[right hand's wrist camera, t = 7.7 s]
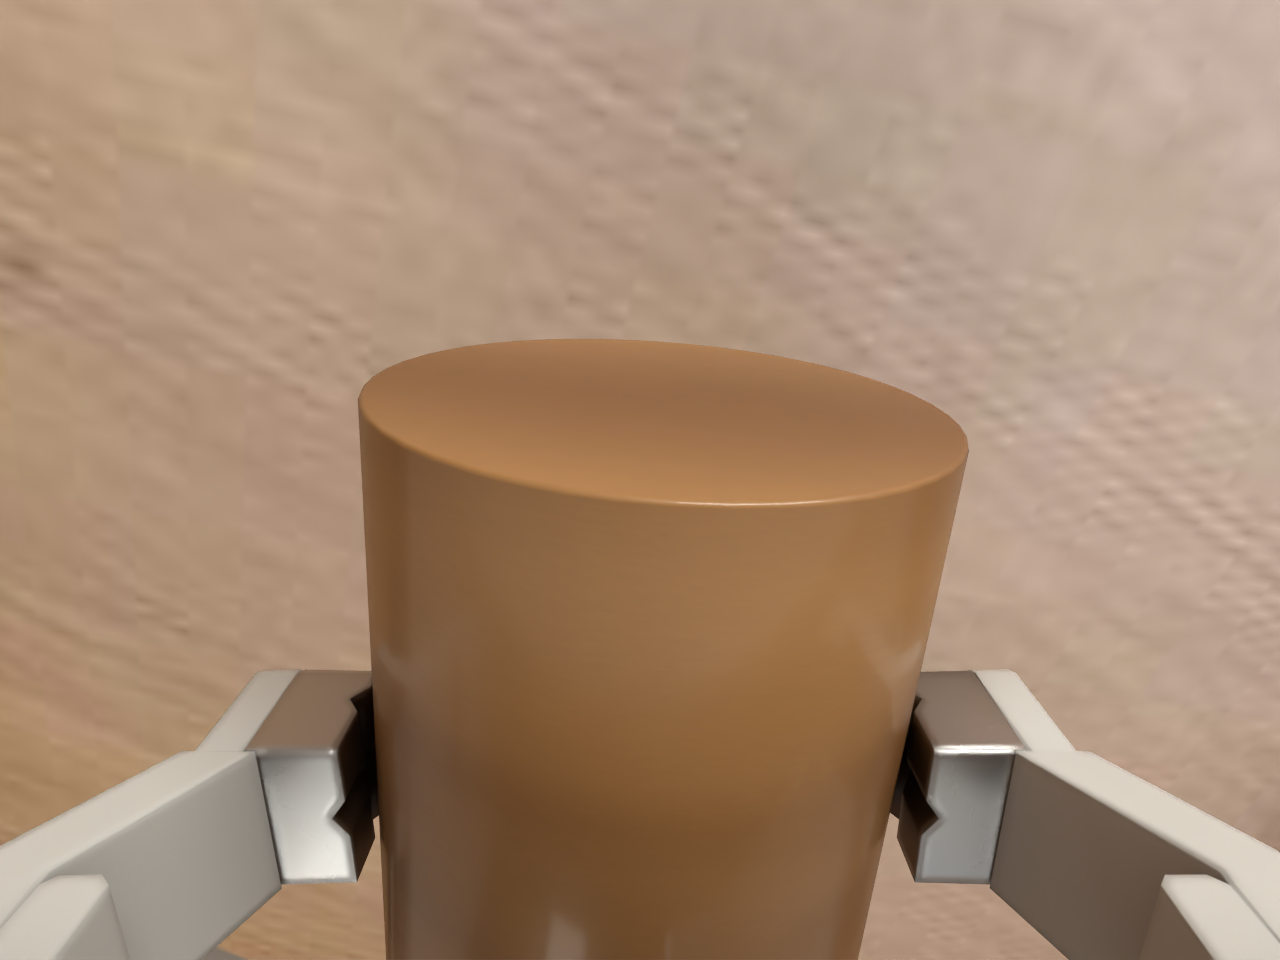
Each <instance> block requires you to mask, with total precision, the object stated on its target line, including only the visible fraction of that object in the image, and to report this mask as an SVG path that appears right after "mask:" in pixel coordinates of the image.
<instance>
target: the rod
mask: <svg viewBox="0 0 1280 960" xmlns="http://www.w3.org/2000/svg"><path fill="white" fill-rule="evenodd" d="M358 411H359V430H360V450H361V470H362V490H363V509H364V529H365V549H366V568H367V588H368V608H369V627H370V647H371V667H372V686H373V706H374V726H375V745H376V765H377V785H378V804H379V824H380V844H381V863H382V883H383V903H384V922H385V942H386V960H858V956H859V951H860V947H861V942H862V938H863V933H864V929H865V924H866V919H867V915H868V910H869V906H870V901H871V896H872V892H873V887H874V883H875V878H876V874H877V869H878V864H879V860H880V855H881V851H882V846H883V842H884V837H885V832H886V828H887V823H888V819H889V814H890V810H891V805H892V800H893V796H894V791H895V787H896V782H897V777H898V773H899V768H900V764H901V759H902V755H903V750H904V745H905V741H906V736H907V732H908V727H909V723H910V718H911V713H912V709H913V704H914V700H915V695H916V691H917V686H918V681H919V677H920V672H921V668H922V663H923V658H924V654H925V649H926V645H927V640H928V636H929V631H930V626H931V622H932V617H933V613H934V608H935V604H936V599H937V594H938V590H939V585H940V581H941V576H942V572H943V567H944V562H945V558H946V553H947V549H948V544H949V539H950V535H951V530H952V526H953V521H954V517H955V512H956V507H957V503H958V498H959V494H960V489H961V485H962V480H963V475H964V471H965V466H966V462H967V457H968V453H969V449H968V442H967V437H966V435H965V433H964V432H963V430H962V429H961V427H960V425H959V424H957V423H956V422H955V421H954V420H953V419H952V418H951V417H950V416H949V415H947V414H946V413H944V412H943V411H941V410H940V409H938V408H937V407H935V406H934V405H932V404H930V403H928V402H926V401H924V400H922V399H920V398H918V397H916V396H914V395H912V394H910V393H907V392H905V391H902V390H900V389H898V388H895V387H893V386H890V385H887V384H884V383H881V382H878V381H875V380H873V379H870V378H866V377H863V376H859V375H856V374H853V373H849V372H846V371H842V370H838V369H834V368H830V367H826V366H822V365H817V364H813V363H808V362H804V361H799V360H794V359H789V358H783V357H778V356H772V355H767V354H760V353H754V352H748V351H741V350H734V349H726V348H718V347H710V346H700V345H691V344H680V343H668V342H655V341H637V340H612V339H548V340H527V341H512V342H500V343H490V344H482V345H474V346H467V347H461V348H455V349H449V350H444V351H440V352H435V353H431V354H426V355H423V356H420V357H416V358H413V359H410V360H406V361H403V362H401V363H399V364H396V365H394V366H391V367H389V368H387V369H385V370H383V371H382V372H380V373H378V374H377V375H375V376H373V377H372V378H371V379H370V380H369V381H368V382H367V383H366V384H365V385H364V387H363V389H362V391H361V393H360V395H359V398H358Z"/></svg>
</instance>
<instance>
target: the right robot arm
mask: <svg viewBox="0 0 1280 960" xmlns="http://www.w3.org/2000/svg"><path fill="white" fill-rule="evenodd" d="M890 813H891V814H893V815H894V816H895V817H897V818H898V819H899V825H898V833H897V839H898V841H899V844H900V846H901V849H902V851H903V854H904V856H905V859H906V861H907V864H908V866H909V869H910V871H911V874H912V876H913V879H914V881H915V882H925V883H960V884H990V889H992V890H993V891H994V892H995V893H996V894H997V895H998V896H999V897H1000V898H1002V899H1003V900H1004V901H1005V902H1006V903H1007V904H1008V905H1009V906H1010V907H1011V908H1013V909H1014V910H1015V911H1016V912H1017V913H1018V914H1019V915H1020V916H1021V917H1022V918H1024V919H1025V920H1026V921H1027V922H1028V923H1029V924H1030V925H1031V926H1032V927H1034V928H1035V929H1036V930H1037V931H1038V932H1039V933H1040V934H1041V935H1042V936H1043V937H1045V938H1046V939H1047V940H1048V941H1049V942H1050V943H1051V944H1052V945H1053V946H1054V947H1056V948H1057V949H1058V950H1059V951H1060V952H1061V953H1062V954H1063V955H1064V956H1066V957H1067V958H1068V959H1069V960H1280V852H1279V851H1277V850H1275V849H1274V848H1272V847H1270V846H1268V845H1266V844H1264V843H1262V842H1260V841H1258V840H1256V839H1255V838H1253V837H1251V836H1249V835H1247V834H1245V833H1243V832H1241V831H1239V830H1238V829H1236V828H1234V827H1232V826H1230V825H1228V824H1226V823H1224V822H1222V821H1220V820H1219V819H1217V818H1215V817H1213V816H1211V815H1209V814H1207V813H1205V812H1203V811H1202V810H1200V809H1198V808H1196V807H1194V806H1192V805H1190V804H1188V803H1186V802H1184V801H1183V800H1181V799H1179V798H1177V797H1175V796H1173V795H1171V794H1169V793H1167V792H1166V791H1164V790H1162V789H1160V788H1158V787H1156V786H1154V785H1152V784H1150V783H1149V782H1147V781H1145V780H1143V779H1141V778H1139V777H1137V776H1135V775H1133V774H1131V773H1130V772H1128V771H1126V770H1124V769H1122V768H1120V767H1118V766H1116V765H1114V764H1113V763H1111V762H1109V761H1107V760H1105V759H1103V758H1101V757H1099V756H1097V755H1095V754H1094V753H1092V752H1090V751H1076V750H1075V749H1074V747H1073V746H1072V745H1071V743H1070V742H1069V741H1068V740H1067V738H1066V737H1065V736H1064V734H1063V733H1062V732H1061V731H1060V729H1059V728H1058V727H1057V725H1056V724H1055V723H1054V722H1053V720H1052V719H1051V718H1050V716H1049V715H1048V714H1047V713H1046V711H1045V710H1044V709H1043V707H1042V706H1041V705H1040V704H1039V702H1038V701H1037V700H1036V698H1035V697H1034V696H1033V695H1032V693H1031V692H1030V691H1029V689H1028V688H1027V687H1026V685H1025V684H1024V683H1023V682H1022V680H1021V679H1020V678H1019V676H1018V675H1017V674H1016V673H1015V672H1013V671H1011V670H1009V669H993V670H968V671H940V672H920V677H919V681H918V686H917V691H916V695H915V700H914V704H913V709H912V713H911V718H910V723H909V727H908V732H907V736H906V741H905V745H904V750H903V755H902V759H901V764H900V768H899V773H898V777H897V782H896V787H895V791H894V796H893V800H892V805H891V810H890ZM378 815H379V804H378V785H377V765H376V745H375V726H374V706H373V686H372V671H340V670H304V671H303V670H300V669H290V670H263V671H260V672H257V673H256V674H255V675H254V676H253V677H252V679H251V680H250V681H249V683H248V684H247V685H246V686H245V688H244V689H243V690H242V691H241V693H240V694H239V695H238V697H237V698H236V699H235V700H234V702H233V703H232V704H231V705H230V707H229V708H228V709H227V710H226V712H225V713H224V714H223V716H222V717H221V718H220V719H219V721H218V722H217V723H216V724H215V726H214V727H213V728H212V730H211V731H210V732H209V733H208V735H207V736H206V737H205V738H204V740H203V741H202V742H201V743H200V745H199V746H198V747H197V749H196V750H195V751H181V752H179V753H177V754H175V755H173V756H172V757H170V758H168V759H166V760H164V761H162V762H160V763H158V764H156V765H154V766H152V767H150V768H148V769H147V770H145V771H143V772H141V773H139V774H137V775H135V776H133V777H131V778H129V779H127V780H125V781H124V782H122V783H120V784H118V785H116V786H114V787H112V788H110V789H108V790H106V791H104V792H102V793H101V794H99V795H97V796H95V797H93V798H91V799H89V800H87V801H85V802H83V803H81V804H79V805H78V806H76V807H74V808H72V809H70V810H68V811H66V812H64V813H62V814H60V815H58V816H56V817H54V818H53V819H51V820H49V821H47V822H45V823H43V824H41V825H39V826H37V827H35V828H33V829H31V830H30V831H28V832H26V833H24V834H22V835H20V836H18V837H16V838H14V839H12V840H10V841H8V842H7V843H5V844H3V845H1V846H0V960H202V959H203V958H204V957H205V956H207V955H208V954H209V953H210V952H211V951H212V950H213V949H214V948H216V947H217V946H218V945H219V944H220V943H221V942H222V941H223V940H225V939H226V938H227V937H228V936H229V935H230V934H231V933H232V932H233V931H235V930H236V929H237V928H238V927H239V926H240V925H241V924H242V923H244V922H245V921H246V920H247V919H248V918H249V917H250V916H251V915H252V914H254V913H255V912H256V911H257V910H258V909H259V908H260V907H261V906H262V905H264V904H265V903H266V902H267V901H268V900H269V899H270V898H271V897H273V896H274V895H275V894H276V893H277V892H278V891H279V890H280V889H281V884H310V883H344V882H357V880H358V878H359V876H360V873H361V871H362V868H363V866H364V863H365V861H366V859H367V856H368V854H369V851H370V849H371V846H372V844H373V841H374V839H375V832H374V825H373V819H374V818H376V817H377V816H378Z"/></svg>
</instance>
